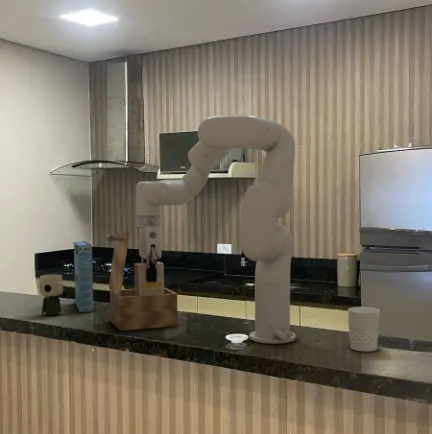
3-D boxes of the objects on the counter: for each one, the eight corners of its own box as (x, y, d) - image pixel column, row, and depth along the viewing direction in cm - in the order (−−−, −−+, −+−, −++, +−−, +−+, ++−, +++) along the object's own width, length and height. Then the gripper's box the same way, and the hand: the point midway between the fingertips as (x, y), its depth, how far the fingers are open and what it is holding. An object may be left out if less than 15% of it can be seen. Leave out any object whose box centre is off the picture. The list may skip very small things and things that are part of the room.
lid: (119, 230, 188) (103, 228, 186) (129, 232, 175) (112, 230, 173) (111, 288, 188) (95, 287, 186) (120, 295, 174) (103, 294, 173)
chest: (164, 317, 195) (164, 287, 194) (177, 325, 181) (177, 293, 181) (110, 321, 188) (109, 290, 188) (119, 330, 175) (119, 297, 174)
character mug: (32, 314, 199) (31, 275, 199) (49, 311, 205) (48, 273, 205) (54, 318, 193) (53, 278, 193) (71, 314, 199) (70, 275, 198)
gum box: (93, 311, 204) (92, 244, 203) (78, 312, 203) (77, 245, 202) (88, 302, 223) (87, 240, 222) (74, 303, 221) (73, 241, 220)
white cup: (346, 344, 157) (346, 306, 157) (376, 345, 156) (377, 307, 156) (349, 352, 149) (350, 312, 149) (382, 352, 149) (382, 312, 148)
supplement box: (159, 302, 189) (158, 261, 188) (164, 305, 185) (164, 263, 184) (134, 304, 186) (133, 262, 185) (139, 307, 181) (138, 264, 181)
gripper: (168, 222, 177) (168, 283, 178) (153, 220, 193) (153, 276, 194) (143, 223, 175) (143, 285, 176) (130, 220, 191) (131, 277, 191)
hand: (149, 280), depth 185 cm, fingers closed on supplement box, 5 cm apart
